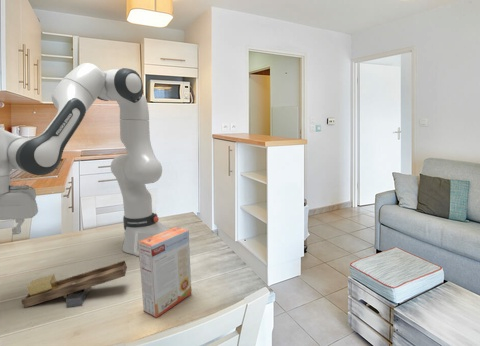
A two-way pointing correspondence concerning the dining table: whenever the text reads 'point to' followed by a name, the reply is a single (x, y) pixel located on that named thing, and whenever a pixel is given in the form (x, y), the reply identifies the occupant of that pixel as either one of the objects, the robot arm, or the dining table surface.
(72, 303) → the fulcrum
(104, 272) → the beam
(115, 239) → the dining table surface
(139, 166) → the robot arm
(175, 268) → the cracker box
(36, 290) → the rider
